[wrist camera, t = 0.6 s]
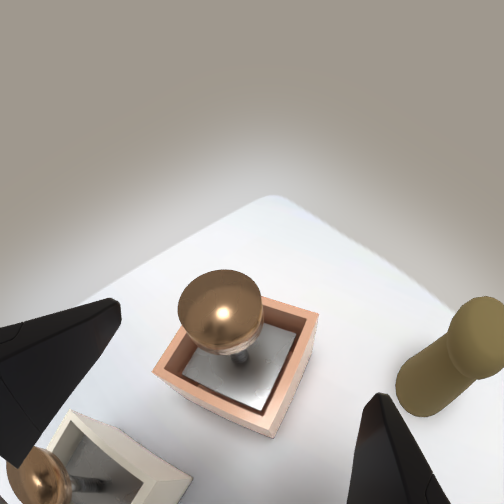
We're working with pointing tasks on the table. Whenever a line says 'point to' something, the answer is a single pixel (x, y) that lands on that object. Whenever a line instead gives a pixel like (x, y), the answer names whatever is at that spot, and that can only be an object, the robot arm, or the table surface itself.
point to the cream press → (122, 458)
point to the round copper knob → (72, 478)
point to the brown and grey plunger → (232, 338)
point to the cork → (454, 359)
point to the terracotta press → (283, 389)
